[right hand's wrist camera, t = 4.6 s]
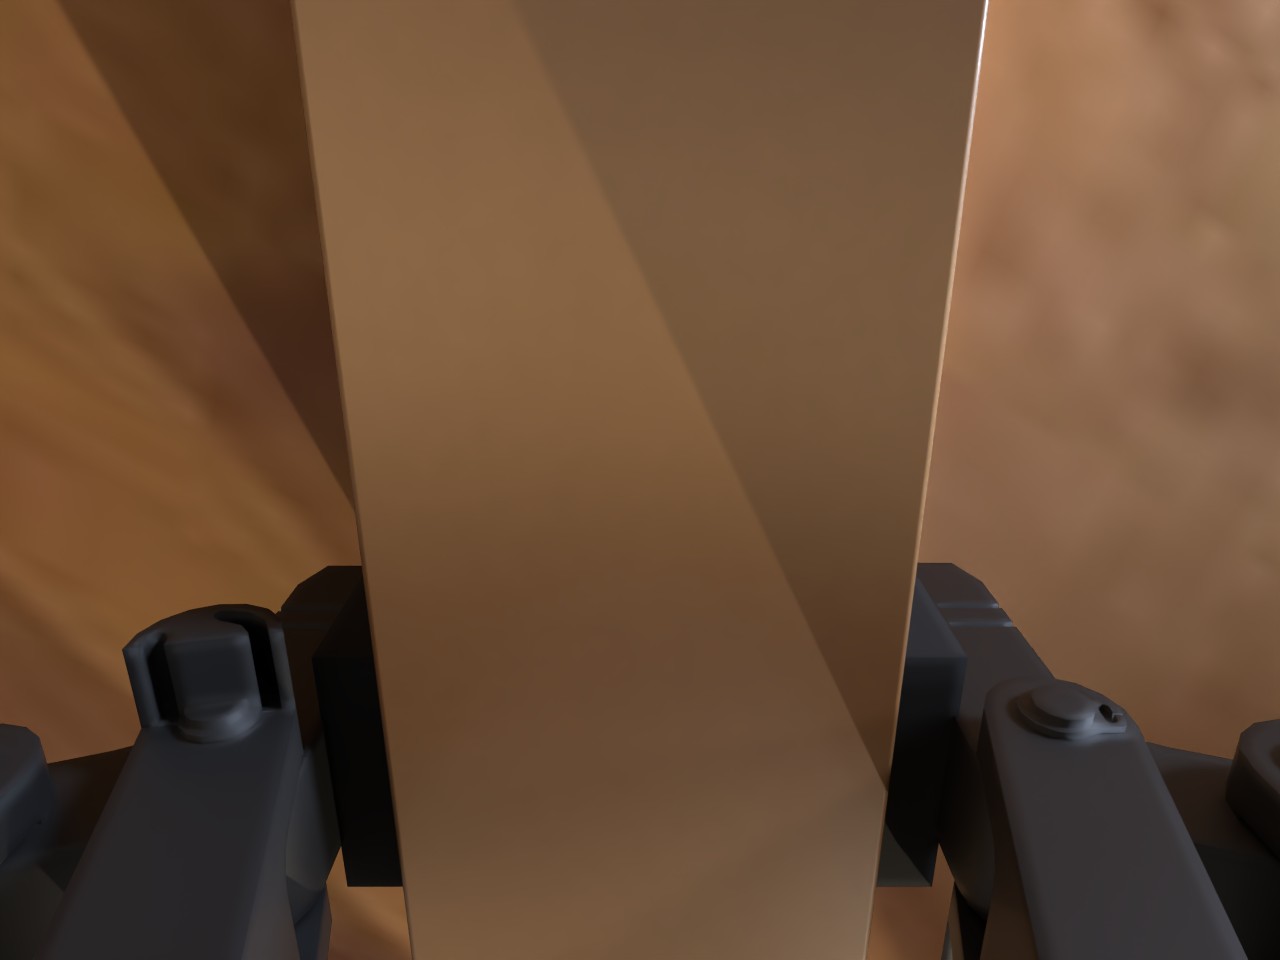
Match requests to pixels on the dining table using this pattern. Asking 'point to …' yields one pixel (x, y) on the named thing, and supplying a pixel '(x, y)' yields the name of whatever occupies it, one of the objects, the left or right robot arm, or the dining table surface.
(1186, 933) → the right robot arm
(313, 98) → the post
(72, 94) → the dining table surface
